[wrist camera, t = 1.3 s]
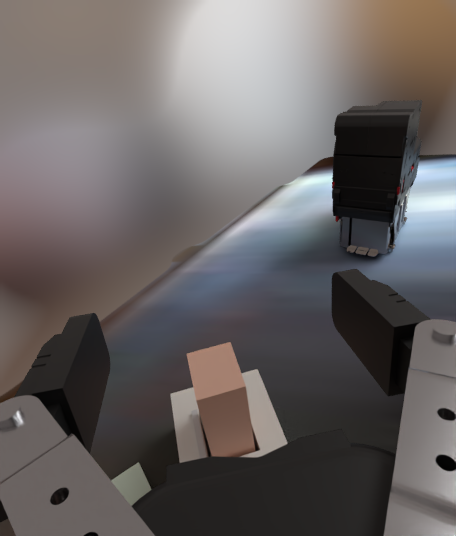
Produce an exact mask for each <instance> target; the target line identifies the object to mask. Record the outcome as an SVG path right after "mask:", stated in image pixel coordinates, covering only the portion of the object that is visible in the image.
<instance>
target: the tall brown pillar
mask: <svg viewBox="0 0 456 536" xmlns="http://www.w3.org/2000/svg"><path fill="white" fill-rule="evenodd" d="M187 358H188V363H189V368H190V373H191V377H192V382H193V387H194V392H195V397H196V402H197V405H198V409H199V412H200V416H201V419H202V423H203V426H204V430H205V434H206V437H207V441H208V444H209V448H210V451H211V455H212V456H218V457H240V456H243V455H246V454H249V453H253V452H255V445H254V438H253V431H252V425H251V418H250V411H249V404H248V397H247V391H246V385H245V382H244V380H243V377H242V374H241V371H240V368H239V365H238V363H237V360H236V357H235V354H234V351H233V348H232V346H231V343H230V342H228V343H225V344H221V345H217V346H213V347H210V348H206V349H202V350H199V351H195V352H191V353H188V354H187Z"/></svg>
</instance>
